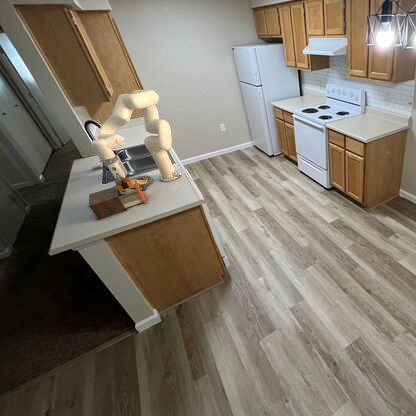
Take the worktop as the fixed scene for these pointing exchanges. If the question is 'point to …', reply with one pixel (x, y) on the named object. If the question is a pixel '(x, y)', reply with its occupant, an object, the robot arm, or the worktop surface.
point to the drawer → (133, 196)
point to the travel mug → (121, 163)
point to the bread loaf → (127, 183)
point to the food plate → (141, 181)
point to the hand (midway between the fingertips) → (126, 186)
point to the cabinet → (106, 202)
